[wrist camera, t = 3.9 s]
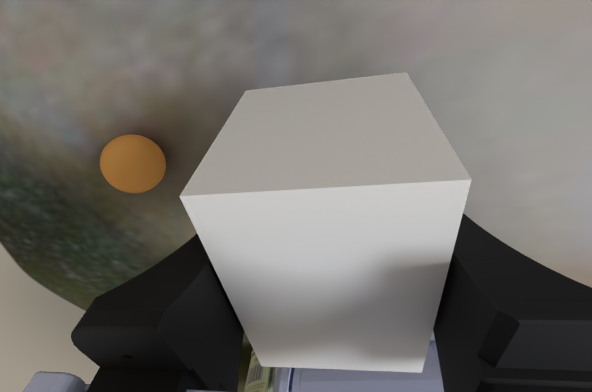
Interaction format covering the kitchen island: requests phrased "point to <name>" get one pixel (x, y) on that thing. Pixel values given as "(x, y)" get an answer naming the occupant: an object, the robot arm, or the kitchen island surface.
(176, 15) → the kitchen island surface
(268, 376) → the coffee can
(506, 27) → the kitchen island surface
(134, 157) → the ball
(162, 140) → the kitchen island surface
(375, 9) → the kitchen island surface
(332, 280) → the white rectangular prism
